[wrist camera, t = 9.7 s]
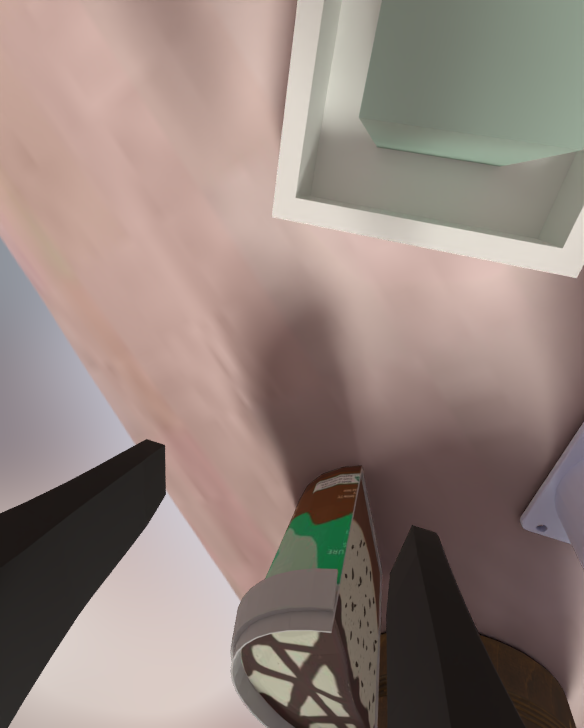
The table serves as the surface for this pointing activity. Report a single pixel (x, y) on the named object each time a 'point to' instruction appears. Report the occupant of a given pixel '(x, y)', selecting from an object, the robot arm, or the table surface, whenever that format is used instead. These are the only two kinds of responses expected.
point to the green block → (477, 79)
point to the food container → (315, 616)
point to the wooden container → (507, 687)
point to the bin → (409, 165)
